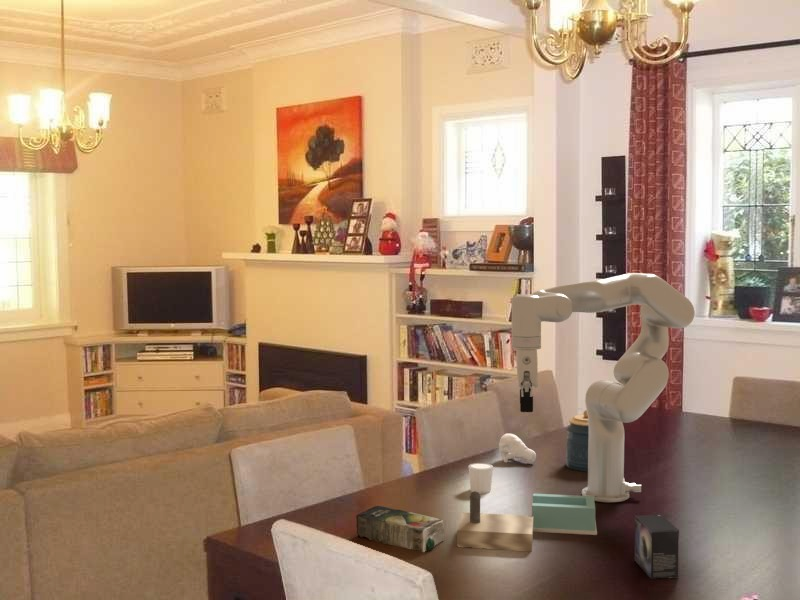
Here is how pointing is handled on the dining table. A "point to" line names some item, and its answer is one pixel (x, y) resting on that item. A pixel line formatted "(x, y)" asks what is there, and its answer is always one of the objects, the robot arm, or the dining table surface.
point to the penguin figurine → (515, 449)
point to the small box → (656, 546)
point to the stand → (494, 529)
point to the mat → (567, 531)
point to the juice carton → (400, 528)
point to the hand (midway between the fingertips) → (526, 407)
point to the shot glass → (480, 477)
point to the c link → (563, 512)
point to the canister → (577, 443)
